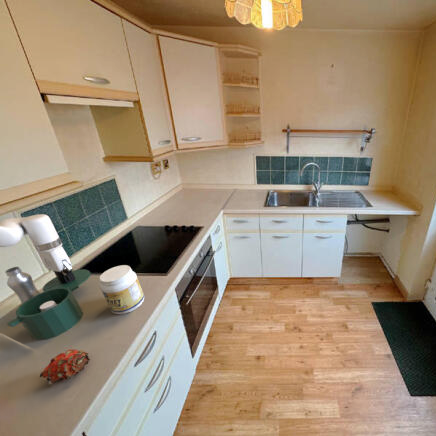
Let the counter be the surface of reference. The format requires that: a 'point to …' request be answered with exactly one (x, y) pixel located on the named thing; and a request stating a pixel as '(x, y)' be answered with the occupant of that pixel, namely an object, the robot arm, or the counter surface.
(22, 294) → the silver metal bottle
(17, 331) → the counter surface
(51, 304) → the supplement bottle
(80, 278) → the pot lid
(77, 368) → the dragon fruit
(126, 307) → the supplement tub
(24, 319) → the pot
